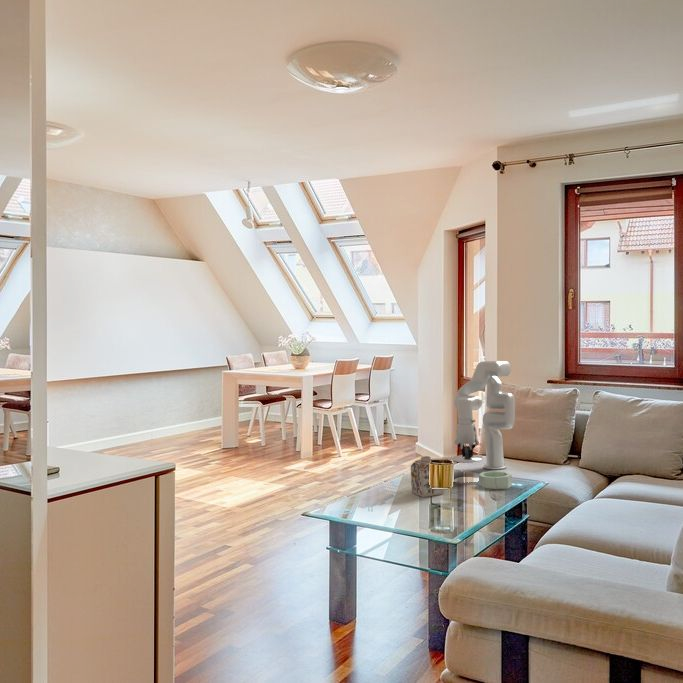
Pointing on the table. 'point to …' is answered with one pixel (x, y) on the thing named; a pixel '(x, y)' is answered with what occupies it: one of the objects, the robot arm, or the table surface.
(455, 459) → the lid
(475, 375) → the robot arm
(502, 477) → the bowl
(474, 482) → the mat
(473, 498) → the table surface
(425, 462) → the decorative jar
